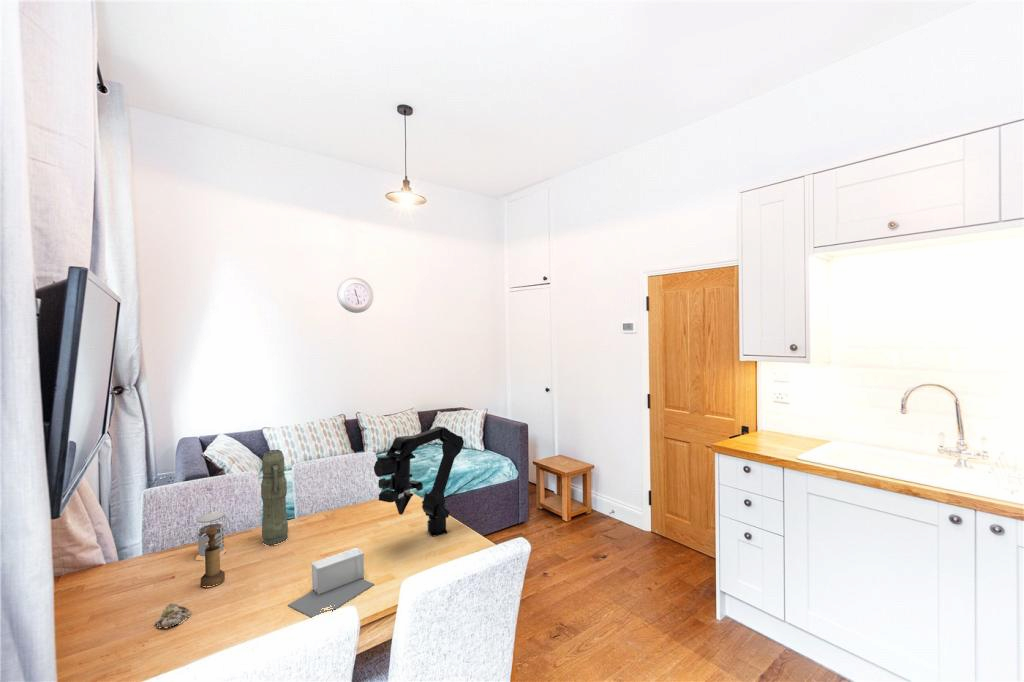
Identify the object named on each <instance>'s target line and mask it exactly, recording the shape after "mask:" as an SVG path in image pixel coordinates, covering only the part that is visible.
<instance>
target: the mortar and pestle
mask: <svg viewBox="0 0 1024 682" xmlns="http://www.w3.org/2000/svg"><path fill="white" fill-rule="evenodd" d="M216 533H217V528H216V527H214V526H213V527H209V528H208V529H207V531H206V533H205V535H207V536H208V537H209V541H208V543H207V544H208V545H209V547H208V548H206V549H205V561H204V562H205V564H204V568H205V571H204V574H203V575H202V576H201V577H200V586H201V585H202V586H206V587H207V586H213V585H216V584H219V583H221V582H223V580H224V579H225V580H226V573H225V571H224V570H222V569H221V556H220V546H215V545H216V540H215V535H216ZM223 583H224V582H223ZM221 584H222V583H221ZM219 585H220V584H219Z"/></svg>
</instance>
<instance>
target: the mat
mask: <svg viewBox="0 0 1024 682" xmlns="http://www.w3.org/2000/svg"><path fill="white" fill-rule="evenodd" d="M373 586H375V583H373V582H370V581H368V580H366V579H363V578H360V579H358V580H355V581H353V582H350V583H347V584H345V585H342V586H340V587H337V588H335V589H332V590H330V591H327V592H324V593H322V594H319V595H318V594H317V593H316V592H315V590H314V589H313V590H311V591H310V592H308V593H306V594H304V595H303V596H301V597H299V598H297V599H295V600H294V601H292V602H290V603H288V604H287V606H288V607H289V608H291V609H294V610H295V611H297V612H300V613H301V614H303V615H306V616H307V617H310V618H311V617H314V616H316V615H319V614H321V613H324V612H327V611H331V610H334V609H336V610H337V609H339V608H340V607H341V605H342V606H344V605H345V604H347V603H348V602H349V601H352V600H353V599H354V598H356V597H358V596H359V595H360V593H361V594H362V593H364V592H366V591H367V590H369V589H370V588H371V587H373ZM357 595H358V596H357ZM346 602H347V603H346ZM330 605H331V606H332V607H330ZM334 605H335V606H334ZM326 607H330V608H333V609H330V608H328V609H330V610H325V611H324V609H322V608H326ZM321 609H322V610H321ZM320 611H321V612H320ZM334 611H335V610H334Z"/></svg>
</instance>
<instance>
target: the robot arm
mask: <svg viewBox="0 0 1024 682" xmlns="http://www.w3.org/2000/svg"><path fill="white" fill-rule="evenodd" d="M437 440H439V441H440V442H442V445H441V449H442V456H441V457H442V458H441V459H440V463H439V466H438V470H437V473H436V477H435V480H434V482H433V486H432V489H431V490H430V492H428V493H427V492H425V494H424V496H423V500H422V502H421V504H422V511H423V512H424V513H425V516H427V517H428V520H427V522H426V523H427V524H426V525H427V532H428V533H429V535H430V536H431V535H432V537H435V536H434V535H436V536H440V535H444V534H443V533H445V534H448V533H447V532H449V531H448V530H447V518H449V516H450V511H449V510H448V509H447V508H445V506H446V505H445V504H446V499H445V490H446V488H447V485H448V482H449V478H450V474H451V472H452V467H453V465H454V462H455V458H456V457H457V456H458V455H459V454H460V453H461V451H462V449H463V446H464V443H465V441H464V438H463V437H462V436H461V435H458V434H456V433H454V432H452V431H450V430H449V429H448V428H446V427H445V426H436V427H434V428H432V429H428V430H426V431H423V432H420V433H417V434H415V435H404V436H397V437H395V438H394V440H393V442H392V444H391V446H390V447H389V449H388V451H387V452H386V454H385V456H378V457H377V460H376V461H375V463H374V466H373V471H374V474H375V476H376V477H378V478H381V477H385V476H390V478H387V479H386V478H381V479H378V484H377V485H378V488H379V489H382V491H380V492H379V494H378V501H382V502H386V503H389V504H390V503H395V506H396V509H397V512H398V514H399V515H403V514H404V513H405V511H406V508H407V506H408V505H409V503H410V500H411V499H412V496H414V493H411V491H412V490H413V489H415V490H416V491H417V492H419V491H420V492H421V491H422V490H423V483H422V481H418V480H412V479H411V478H412V477H413V473H411V460H412V459H416V455H414V454H413V452H414V451H416V450H417V449H418V448H419V447H420V446H422V445H423V446H424V445H425V444H428V443H431V442H433V441H437ZM410 479H411V480H410ZM439 534H440V535H439Z"/></svg>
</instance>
